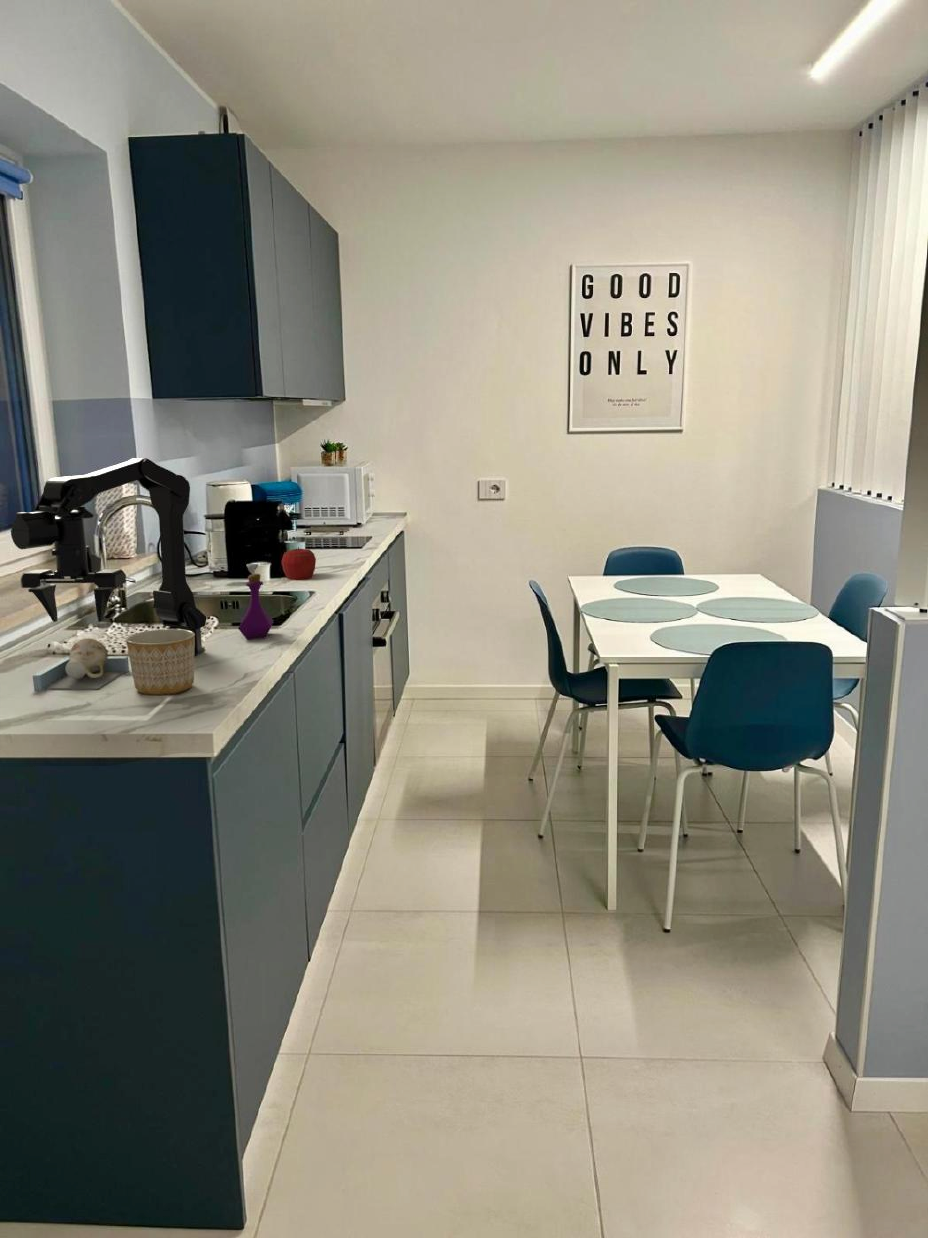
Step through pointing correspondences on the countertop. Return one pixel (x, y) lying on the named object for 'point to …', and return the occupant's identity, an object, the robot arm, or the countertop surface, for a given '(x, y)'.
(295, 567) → the apple
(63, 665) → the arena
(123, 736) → the countertop surface
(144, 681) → the planter
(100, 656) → the mug
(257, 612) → the perfume bottle
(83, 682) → the mat
